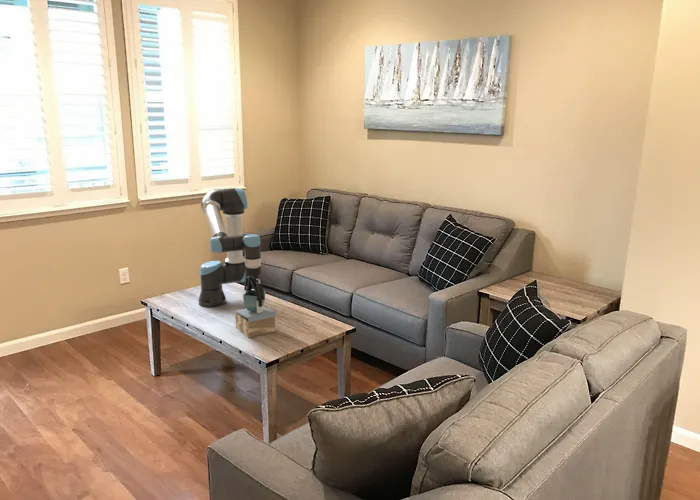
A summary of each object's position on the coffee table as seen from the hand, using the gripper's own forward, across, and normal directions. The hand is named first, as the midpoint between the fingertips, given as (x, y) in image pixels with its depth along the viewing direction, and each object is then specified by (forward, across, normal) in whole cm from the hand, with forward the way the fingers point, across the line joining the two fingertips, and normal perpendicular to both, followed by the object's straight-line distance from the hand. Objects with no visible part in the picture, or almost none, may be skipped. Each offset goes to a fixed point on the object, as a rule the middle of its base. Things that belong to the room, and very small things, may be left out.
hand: (254, 308), depth 278 cm
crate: (+11, 0, 0) cm, 11 cm away
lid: (+3, +1, 0) cm, 4 cm away
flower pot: (+1, 0, 0) cm, 1 cm away
